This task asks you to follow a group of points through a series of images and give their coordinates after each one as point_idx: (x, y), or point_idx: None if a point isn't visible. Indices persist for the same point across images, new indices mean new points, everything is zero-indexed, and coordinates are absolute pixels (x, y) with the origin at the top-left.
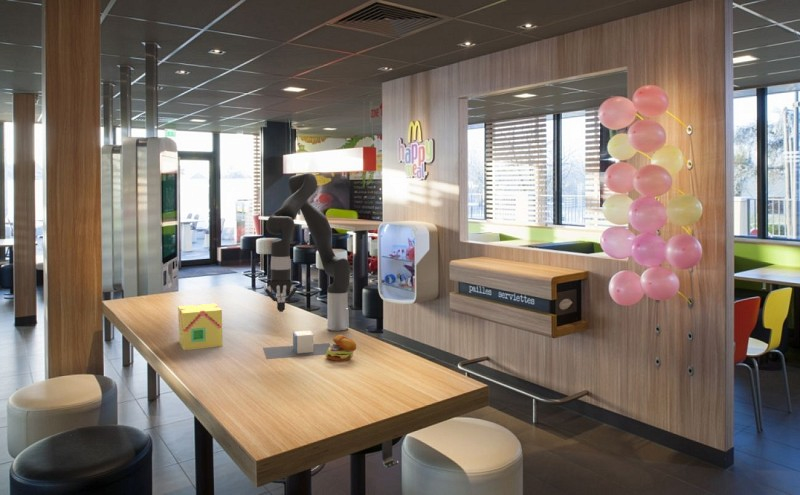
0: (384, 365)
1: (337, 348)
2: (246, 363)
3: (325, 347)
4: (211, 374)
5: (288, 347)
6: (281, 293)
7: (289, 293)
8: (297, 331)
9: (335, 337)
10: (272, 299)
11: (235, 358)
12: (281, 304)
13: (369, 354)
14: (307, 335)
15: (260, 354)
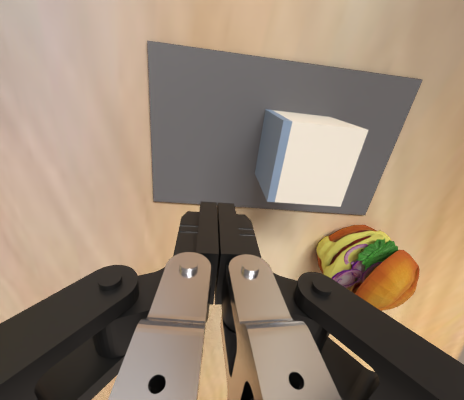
0: (397, 311)
1: (354, 275)
2: (90, 214)
3: (375, 138)
4: (3, 271)
5: (254, 83)
6: (250, 350)
7: (376, 393)
8: (305, 125)
9: (372, 294)
10: (90, 348)
11: (43, 149)
12: (215, 289)
13: (432, 240)
14: (316, 204)
15: (135, 131)
